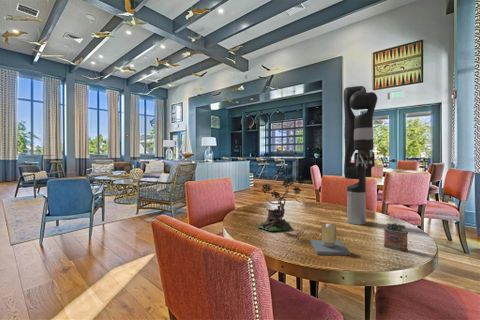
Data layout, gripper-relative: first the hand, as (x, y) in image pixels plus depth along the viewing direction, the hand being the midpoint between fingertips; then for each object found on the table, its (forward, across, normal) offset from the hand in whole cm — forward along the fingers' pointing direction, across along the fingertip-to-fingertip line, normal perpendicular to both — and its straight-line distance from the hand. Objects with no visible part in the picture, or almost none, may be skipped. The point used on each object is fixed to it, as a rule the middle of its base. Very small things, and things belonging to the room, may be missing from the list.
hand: (363, 176), depth 102 cm
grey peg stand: (+28, +10, -18) cm, 35 cm away
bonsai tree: (+28, -21, -33) cm, 48 cm away
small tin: (+28, +9, +8) cm, 31 cm away
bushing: (+25, +10, -18) cm, 32 cm away
